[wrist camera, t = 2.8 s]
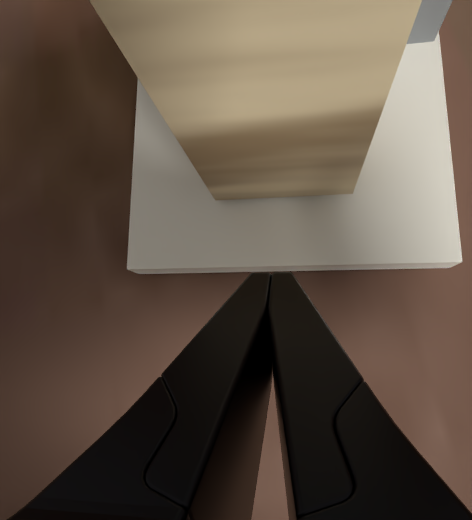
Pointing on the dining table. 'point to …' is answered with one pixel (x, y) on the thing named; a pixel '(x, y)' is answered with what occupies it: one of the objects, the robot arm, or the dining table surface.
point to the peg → (266, 84)
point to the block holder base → (311, 207)
